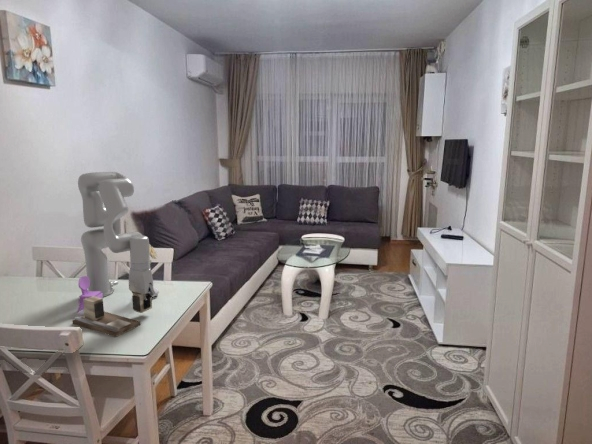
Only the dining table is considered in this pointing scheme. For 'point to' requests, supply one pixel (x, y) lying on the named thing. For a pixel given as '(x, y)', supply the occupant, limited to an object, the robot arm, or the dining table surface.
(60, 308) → the dining table surface
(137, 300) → the wooden block
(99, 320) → the rail board
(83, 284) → the toy chair
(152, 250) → the flower in vase
